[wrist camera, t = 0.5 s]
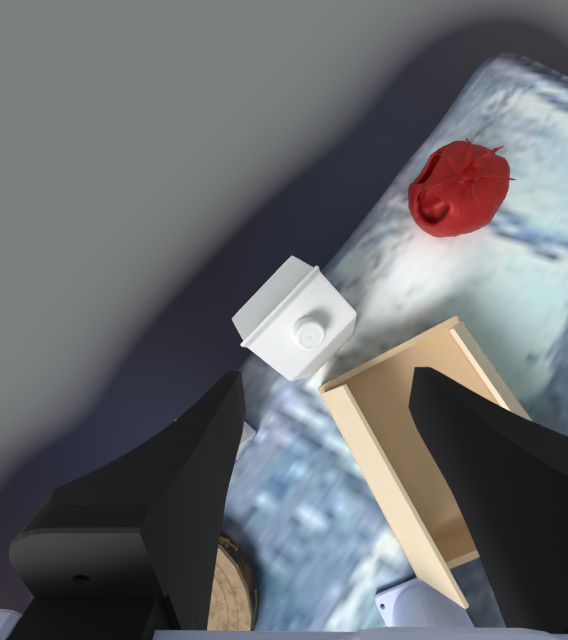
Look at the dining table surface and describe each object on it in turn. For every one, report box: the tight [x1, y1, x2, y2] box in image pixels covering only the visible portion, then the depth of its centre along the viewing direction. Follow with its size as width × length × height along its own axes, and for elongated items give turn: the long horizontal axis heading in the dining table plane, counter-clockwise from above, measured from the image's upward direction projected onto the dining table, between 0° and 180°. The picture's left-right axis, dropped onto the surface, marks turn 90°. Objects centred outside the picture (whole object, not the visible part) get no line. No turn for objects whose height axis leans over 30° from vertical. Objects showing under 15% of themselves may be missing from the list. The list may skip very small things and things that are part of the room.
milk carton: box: [232, 256, 357, 381], centre depth 27 cm, size 7×7×19 cm
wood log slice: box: [207, 530, 259, 631], centre depth 34 cm, size 16×16×3 cm
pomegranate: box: [408, 139, 516, 238], centre depth 31 cm, size 10×10×9 cm
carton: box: [318, 315, 500, 582], centre depth 30 cm, size 20×17×4 cm
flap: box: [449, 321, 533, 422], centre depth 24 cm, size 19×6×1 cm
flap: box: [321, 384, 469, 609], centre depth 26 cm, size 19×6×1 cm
